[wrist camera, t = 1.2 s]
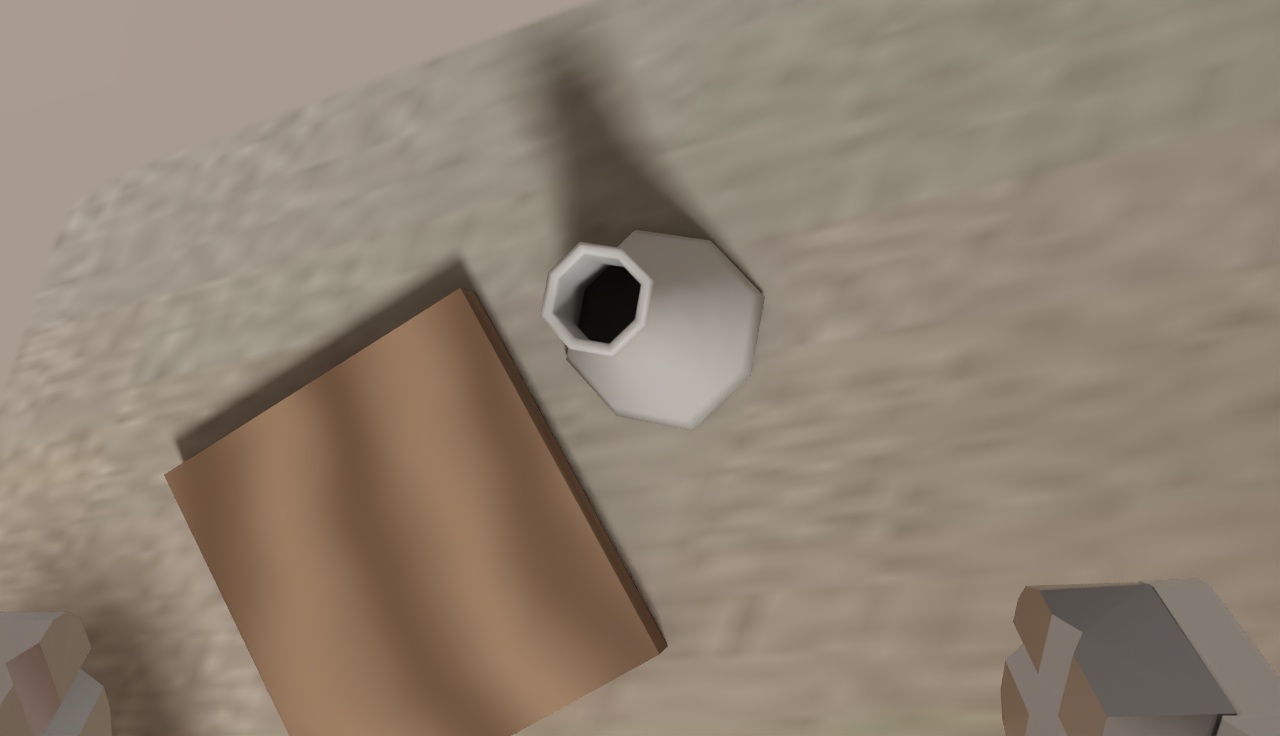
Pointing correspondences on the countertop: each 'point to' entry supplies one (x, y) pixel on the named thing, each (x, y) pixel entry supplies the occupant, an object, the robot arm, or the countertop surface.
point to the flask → (655, 324)
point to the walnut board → (414, 544)
